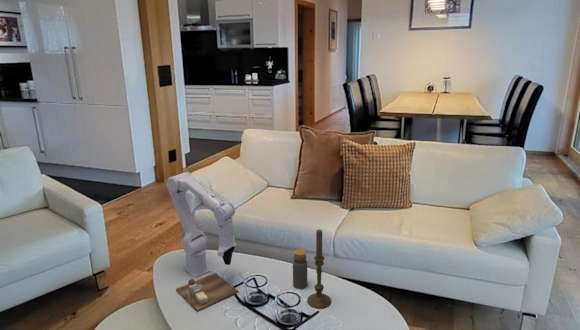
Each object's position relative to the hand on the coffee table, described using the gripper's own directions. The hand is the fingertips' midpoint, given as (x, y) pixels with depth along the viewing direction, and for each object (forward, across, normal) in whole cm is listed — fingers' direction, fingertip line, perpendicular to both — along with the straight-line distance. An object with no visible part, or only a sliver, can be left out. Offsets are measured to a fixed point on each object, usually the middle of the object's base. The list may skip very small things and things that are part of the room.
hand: (227, 263), depth 160 cm
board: (+8, -8, +6) cm, 13 cm away
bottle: (+8, +2, -30) cm, 31 cm away
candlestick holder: (+8, -7, -39) cm, 40 cm away
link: (+7, -12, +8) cm, 17 cm away
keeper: (+7, -13, +9) cm, 18 cm away
